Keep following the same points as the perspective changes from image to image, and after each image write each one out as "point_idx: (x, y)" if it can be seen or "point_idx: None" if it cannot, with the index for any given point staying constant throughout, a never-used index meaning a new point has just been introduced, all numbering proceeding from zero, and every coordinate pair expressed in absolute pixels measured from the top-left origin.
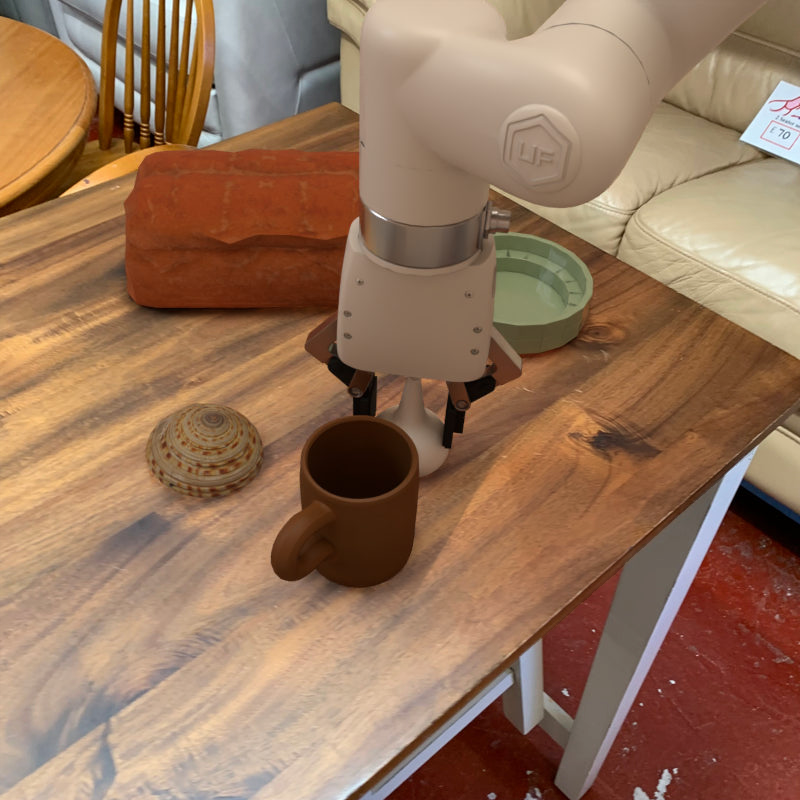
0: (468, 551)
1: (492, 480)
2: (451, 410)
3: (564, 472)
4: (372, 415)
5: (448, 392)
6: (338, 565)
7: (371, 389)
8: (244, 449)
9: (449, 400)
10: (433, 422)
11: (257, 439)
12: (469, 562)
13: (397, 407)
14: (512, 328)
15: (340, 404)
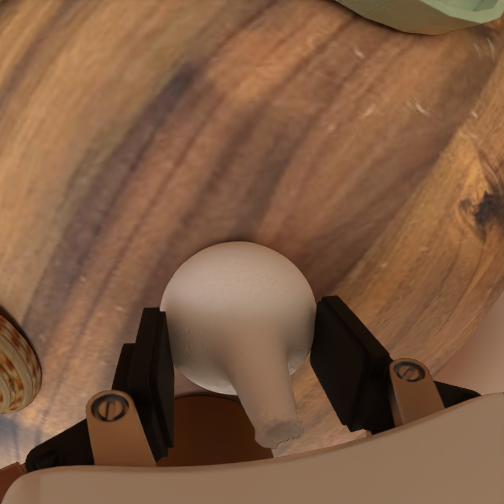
0: (323, 407)
1: (363, 312)
2: (357, 426)
3: (443, 273)
4: (170, 378)
5: (358, 384)
6: None
7: (161, 425)
8: (11, 389)
9: (356, 403)
10: (298, 338)
11: (10, 356)
12: (323, 415)
13: (214, 321)
14: (433, 13)
15: (84, 204)
